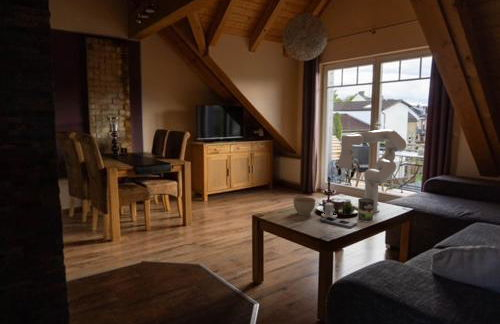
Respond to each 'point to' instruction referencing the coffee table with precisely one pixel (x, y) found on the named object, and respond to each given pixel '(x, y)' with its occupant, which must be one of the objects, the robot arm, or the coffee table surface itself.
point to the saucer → (329, 216)
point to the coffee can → (365, 210)
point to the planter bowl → (304, 205)
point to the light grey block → (329, 209)
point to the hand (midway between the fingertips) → (345, 176)
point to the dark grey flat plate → (338, 222)
